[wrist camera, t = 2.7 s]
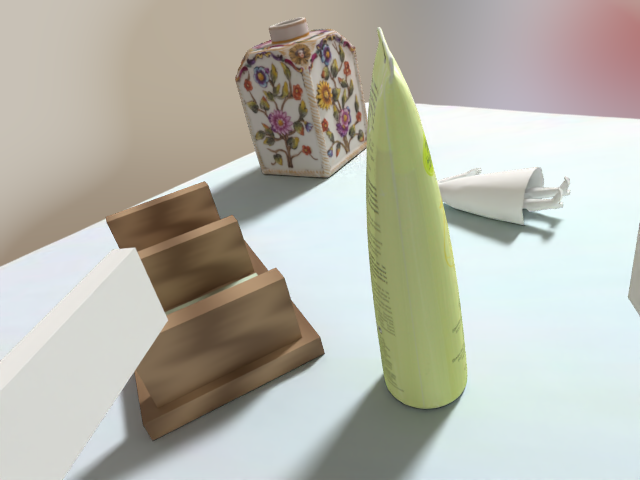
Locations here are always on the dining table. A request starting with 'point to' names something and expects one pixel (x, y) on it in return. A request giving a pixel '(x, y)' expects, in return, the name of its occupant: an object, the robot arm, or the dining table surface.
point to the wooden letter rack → (208, 310)
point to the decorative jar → (303, 100)
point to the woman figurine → (501, 193)
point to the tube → (410, 250)
